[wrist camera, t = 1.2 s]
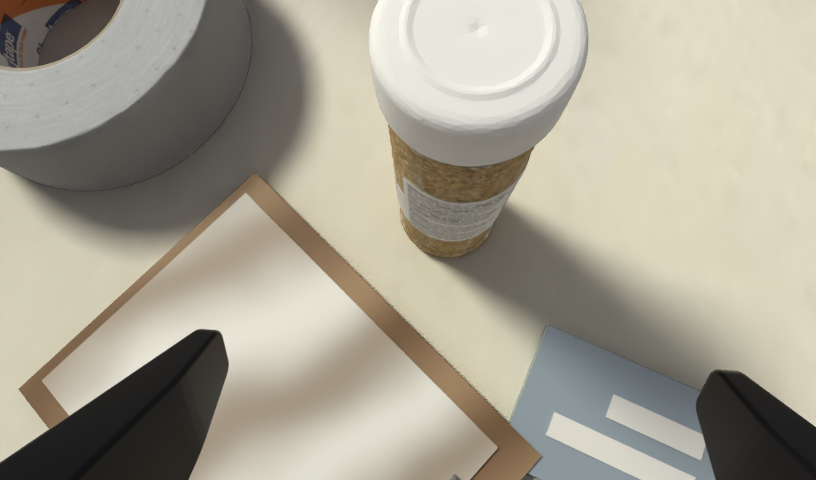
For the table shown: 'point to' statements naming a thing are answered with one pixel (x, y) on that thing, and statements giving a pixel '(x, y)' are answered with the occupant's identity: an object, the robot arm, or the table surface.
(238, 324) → the clipboard
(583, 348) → the word card
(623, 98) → the table surface
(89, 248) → the table surface
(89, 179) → the tape roll
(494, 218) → the sprinkles bottle
